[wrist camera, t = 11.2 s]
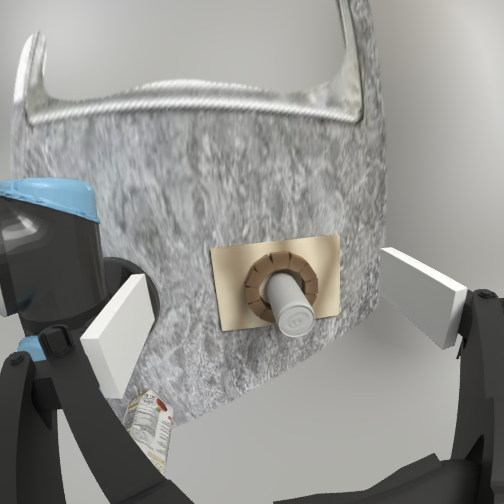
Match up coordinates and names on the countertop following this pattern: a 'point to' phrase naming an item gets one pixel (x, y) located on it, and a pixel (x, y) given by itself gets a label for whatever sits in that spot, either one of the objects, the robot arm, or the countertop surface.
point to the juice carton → (150, 426)
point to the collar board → (266, 265)
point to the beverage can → (289, 305)
